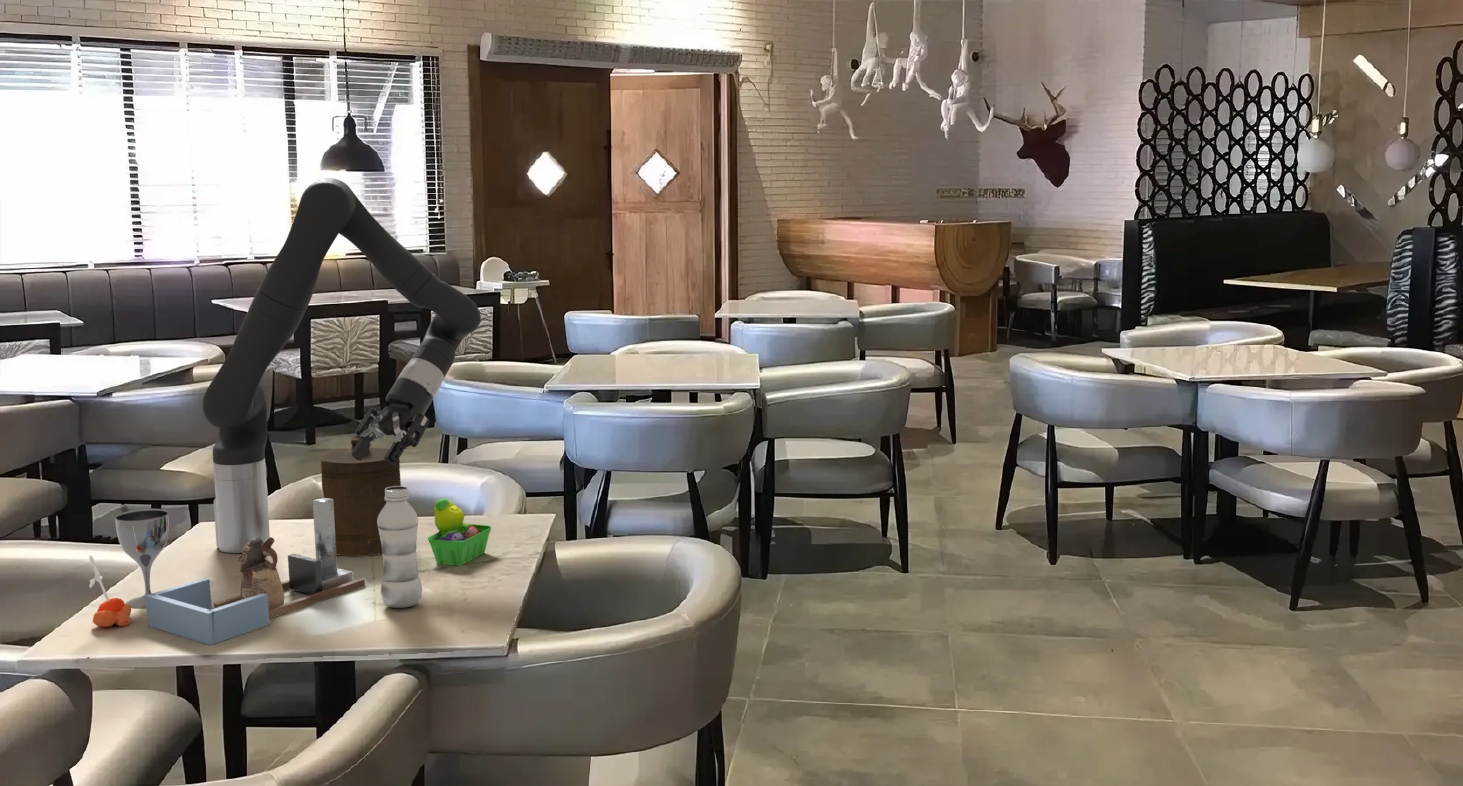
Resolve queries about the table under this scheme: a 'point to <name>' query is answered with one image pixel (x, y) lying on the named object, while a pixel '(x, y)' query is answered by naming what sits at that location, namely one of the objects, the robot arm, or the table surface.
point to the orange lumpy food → (109, 606)
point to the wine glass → (143, 541)
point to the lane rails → (305, 600)
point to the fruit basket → (456, 536)
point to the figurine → (260, 572)
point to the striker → (319, 556)
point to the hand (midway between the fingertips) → (372, 460)
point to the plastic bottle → (399, 550)
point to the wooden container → (357, 496)
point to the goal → (204, 613)
